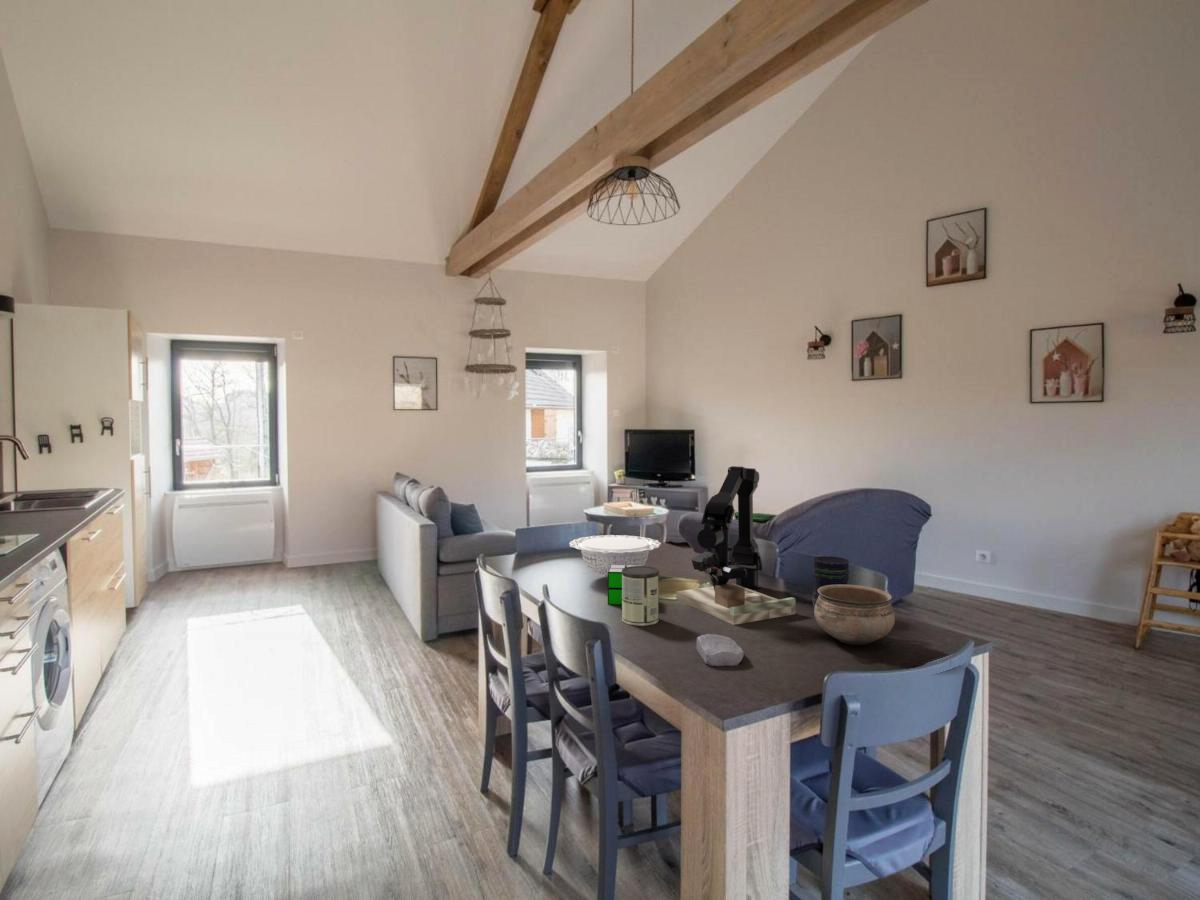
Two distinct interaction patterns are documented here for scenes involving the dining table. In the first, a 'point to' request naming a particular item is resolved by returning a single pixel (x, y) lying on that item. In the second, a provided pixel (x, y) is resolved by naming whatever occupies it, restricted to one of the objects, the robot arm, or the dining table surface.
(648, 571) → the coffee can
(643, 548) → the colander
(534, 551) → the dining table surface
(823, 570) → the storage jar
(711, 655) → the stone block
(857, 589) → the cooking pot
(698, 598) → the trap deck
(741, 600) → the walnut block
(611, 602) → the puzzle cube
